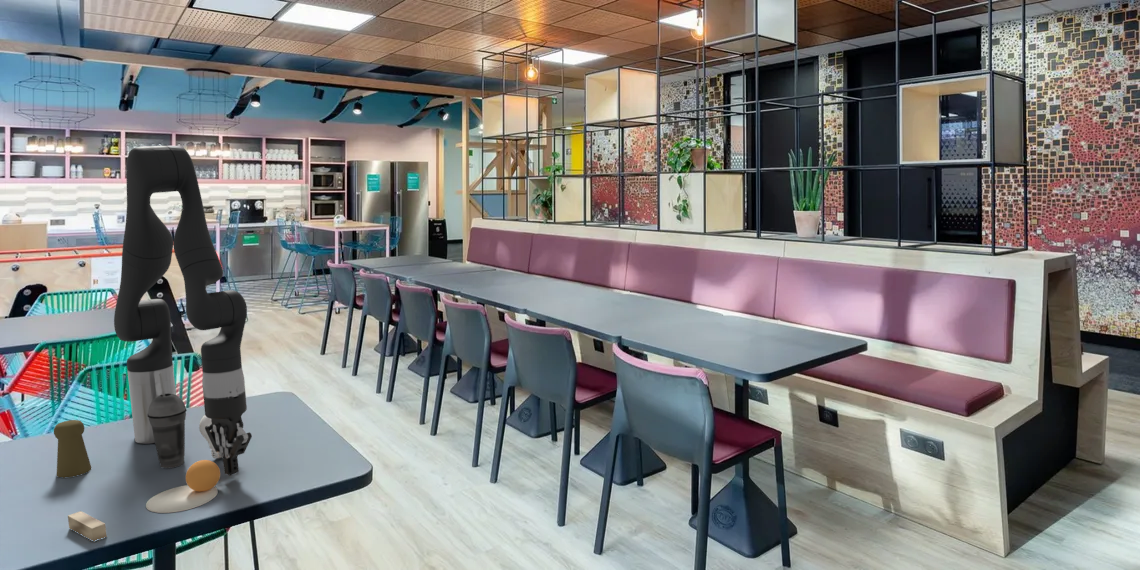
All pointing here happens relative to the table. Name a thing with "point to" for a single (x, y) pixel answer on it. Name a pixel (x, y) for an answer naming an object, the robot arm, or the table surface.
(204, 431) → the light bulb
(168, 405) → the beverage cup
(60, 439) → the cork
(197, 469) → the ball
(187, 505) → the plate
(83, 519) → the rail
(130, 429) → the table surface
